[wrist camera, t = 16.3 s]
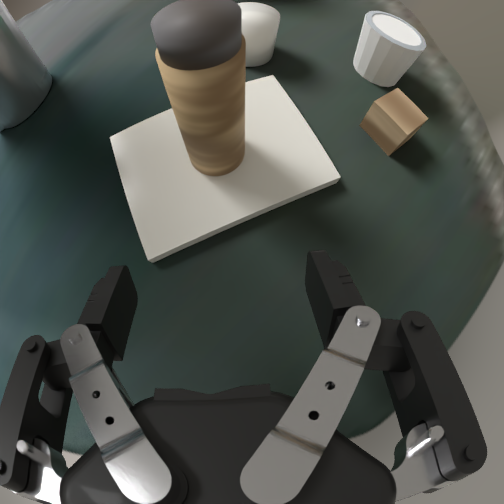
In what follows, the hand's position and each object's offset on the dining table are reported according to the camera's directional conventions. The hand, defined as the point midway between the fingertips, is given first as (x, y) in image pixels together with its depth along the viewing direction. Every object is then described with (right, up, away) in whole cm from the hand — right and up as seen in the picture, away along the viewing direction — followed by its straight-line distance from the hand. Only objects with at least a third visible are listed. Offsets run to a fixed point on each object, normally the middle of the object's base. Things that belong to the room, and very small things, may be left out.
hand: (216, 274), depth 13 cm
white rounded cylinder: (+1, +22, +13) cm, 26 cm away
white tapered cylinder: (+16, +22, +14) cm, 30 cm away
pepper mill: (-1, +9, +9) cm, 13 cm away
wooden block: (+15, +13, +12) cm, 23 cm away
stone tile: (-1, +9, +11) cm, 14 cm away
